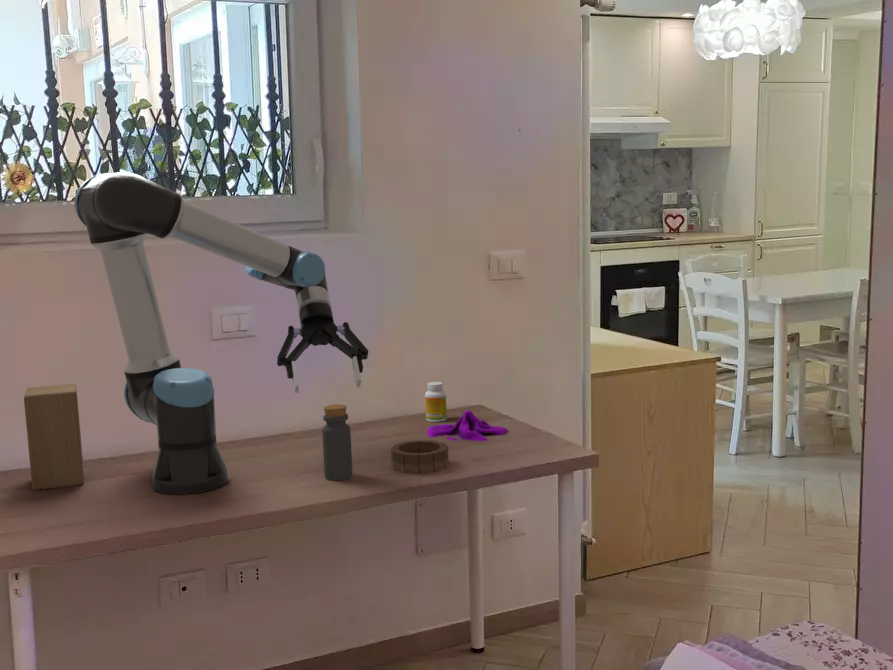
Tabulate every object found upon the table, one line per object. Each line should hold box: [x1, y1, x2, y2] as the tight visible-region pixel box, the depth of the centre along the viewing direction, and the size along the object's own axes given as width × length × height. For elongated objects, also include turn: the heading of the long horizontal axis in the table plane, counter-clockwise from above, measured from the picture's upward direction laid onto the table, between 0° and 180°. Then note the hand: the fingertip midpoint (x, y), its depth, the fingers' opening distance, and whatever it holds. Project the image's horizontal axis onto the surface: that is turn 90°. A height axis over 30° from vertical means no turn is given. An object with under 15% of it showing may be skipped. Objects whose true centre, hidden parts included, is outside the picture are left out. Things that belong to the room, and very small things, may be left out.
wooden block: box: [23, 383, 85, 491], centre depth 203 cm, size 10×10×20 cm
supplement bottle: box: [424, 381, 448, 423], centre depth 250 cm, size 5×5×10 cm
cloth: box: [427, 409, 509, 442], centre depth 235 cm, size 22×19×6 cm
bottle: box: [321, 403, 353, 481], centre depth 201 cm, size 6×6×15 cm
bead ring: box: [390, 439, 449, 475], centre depth 208 cm, size 12×12×4 cm
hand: (328, 386), depth 210 cm, fingers open, 13 cm apart
